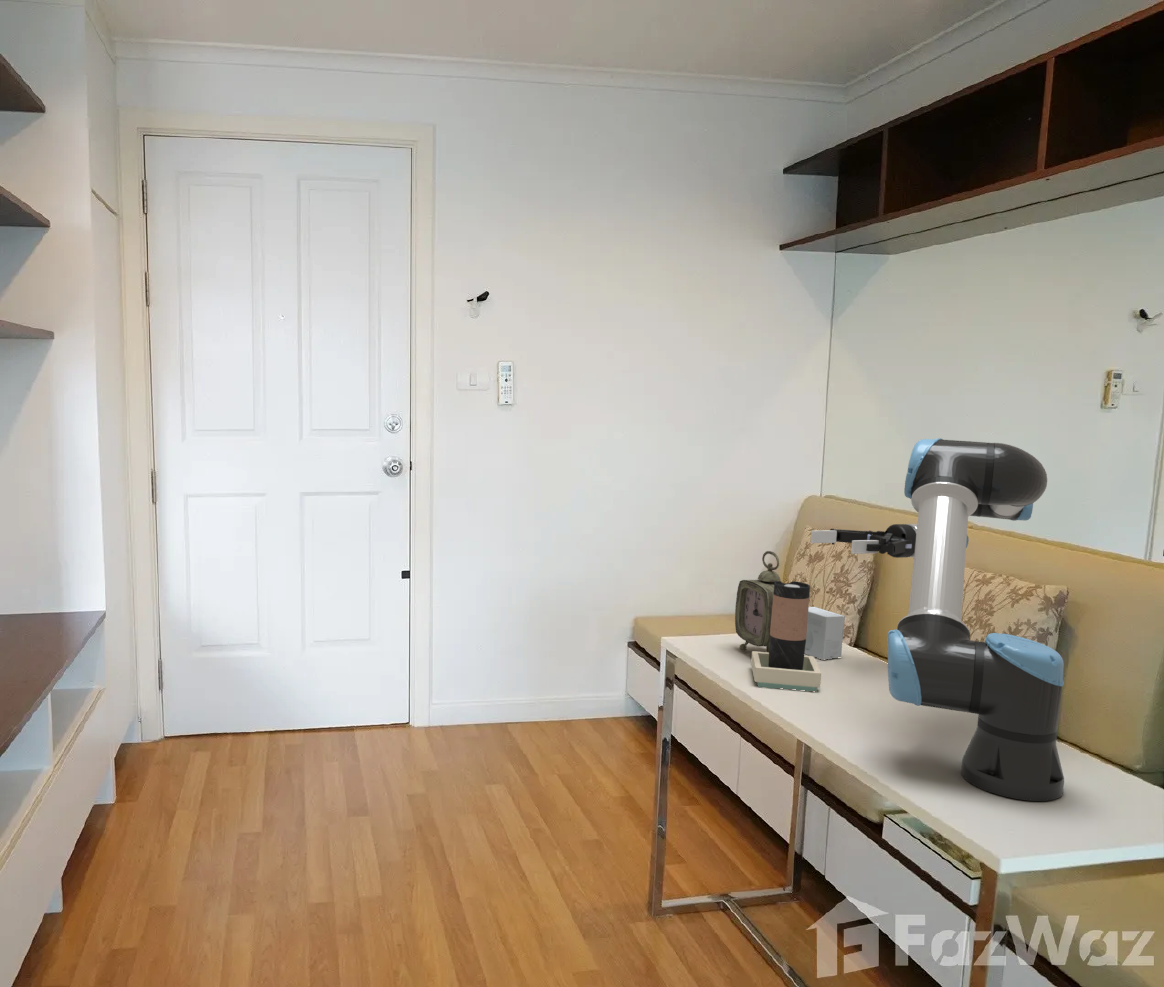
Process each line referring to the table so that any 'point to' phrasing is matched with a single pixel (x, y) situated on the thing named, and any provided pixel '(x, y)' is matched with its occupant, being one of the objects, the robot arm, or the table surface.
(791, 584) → the travel mug
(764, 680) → the rectangular tray
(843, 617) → the skincare box
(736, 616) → the tabletop clock
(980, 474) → the robot arm
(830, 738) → the table surface
